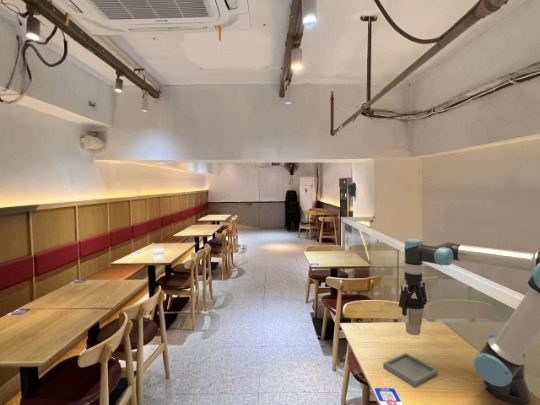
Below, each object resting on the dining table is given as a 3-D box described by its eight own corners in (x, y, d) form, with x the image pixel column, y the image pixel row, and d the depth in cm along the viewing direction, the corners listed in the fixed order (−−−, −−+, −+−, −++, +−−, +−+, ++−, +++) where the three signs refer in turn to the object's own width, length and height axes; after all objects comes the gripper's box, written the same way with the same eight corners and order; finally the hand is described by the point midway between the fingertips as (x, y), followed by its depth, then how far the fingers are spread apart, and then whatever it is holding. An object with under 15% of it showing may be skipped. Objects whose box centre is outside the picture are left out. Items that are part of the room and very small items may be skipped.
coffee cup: (426, 338, 134) (426, 305, 133) (403, 336, 136) (404, 303, 135) (421, 328, 143) (421, 298, 142) (400, 326, 145) (400, 296, 145)
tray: (437, 375, 132) (437, 369, 132) (415, 387, 124) (415, 381, 124) (405, 357, 146) (405, 352, 146) (383, 367, 138) (383, 362, 138)
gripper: (421, 267, 146) (421, 312, 147) (389, 273, 137) (389, 321, 138) (436, 271, 140) (435, 317, 141) (403, 277, 130) (403, 328, 131)
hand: (413, 319), depth 139 cm, fingers closed on coffee cup, 9 cm apart
